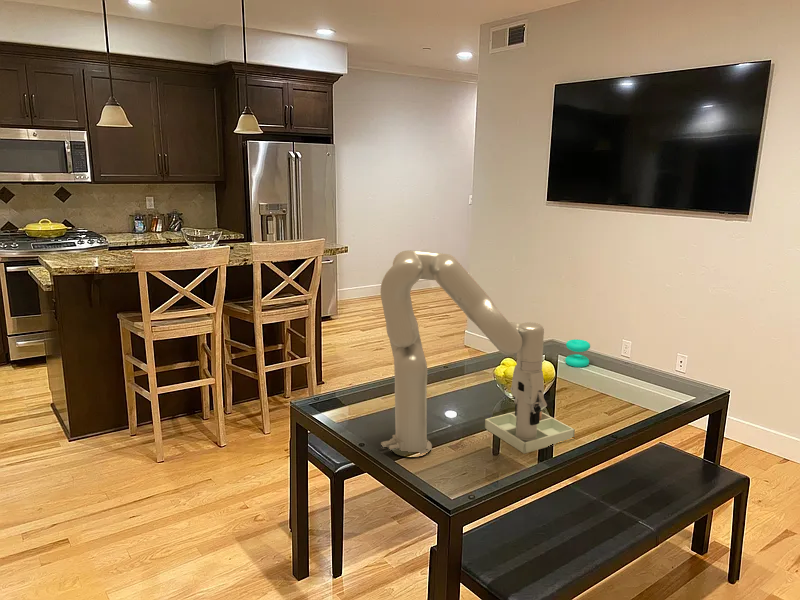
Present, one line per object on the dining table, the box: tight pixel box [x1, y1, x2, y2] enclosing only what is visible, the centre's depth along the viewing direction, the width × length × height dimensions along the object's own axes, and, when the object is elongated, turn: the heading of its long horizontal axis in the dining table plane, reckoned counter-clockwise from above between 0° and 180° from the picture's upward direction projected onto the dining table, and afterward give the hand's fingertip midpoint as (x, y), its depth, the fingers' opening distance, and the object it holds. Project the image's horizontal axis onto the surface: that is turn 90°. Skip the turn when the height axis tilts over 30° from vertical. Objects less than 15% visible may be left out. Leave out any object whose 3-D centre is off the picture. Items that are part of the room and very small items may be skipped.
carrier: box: [484, 411, 575, 454], centre depth 188 cm, size 20×20×4 cm
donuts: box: [564, 338, 591, 368], centre depth 254 cm, size 10×10×10 cm
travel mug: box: [516, 381, 537, 442], centre depth 180 cm, size 6×7×20 cm
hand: (527, 419), depth 180 cm, fingers closed on travel mug, 6 cm apart
